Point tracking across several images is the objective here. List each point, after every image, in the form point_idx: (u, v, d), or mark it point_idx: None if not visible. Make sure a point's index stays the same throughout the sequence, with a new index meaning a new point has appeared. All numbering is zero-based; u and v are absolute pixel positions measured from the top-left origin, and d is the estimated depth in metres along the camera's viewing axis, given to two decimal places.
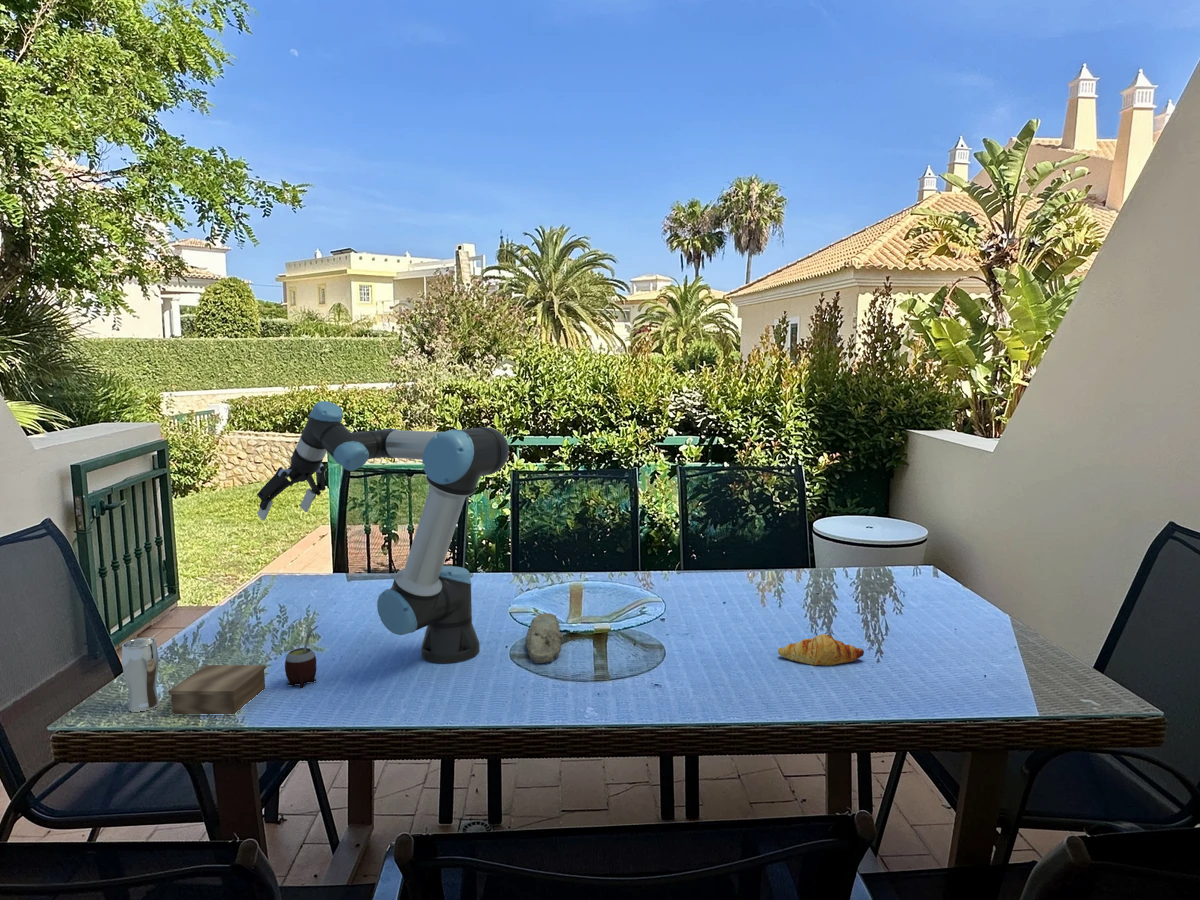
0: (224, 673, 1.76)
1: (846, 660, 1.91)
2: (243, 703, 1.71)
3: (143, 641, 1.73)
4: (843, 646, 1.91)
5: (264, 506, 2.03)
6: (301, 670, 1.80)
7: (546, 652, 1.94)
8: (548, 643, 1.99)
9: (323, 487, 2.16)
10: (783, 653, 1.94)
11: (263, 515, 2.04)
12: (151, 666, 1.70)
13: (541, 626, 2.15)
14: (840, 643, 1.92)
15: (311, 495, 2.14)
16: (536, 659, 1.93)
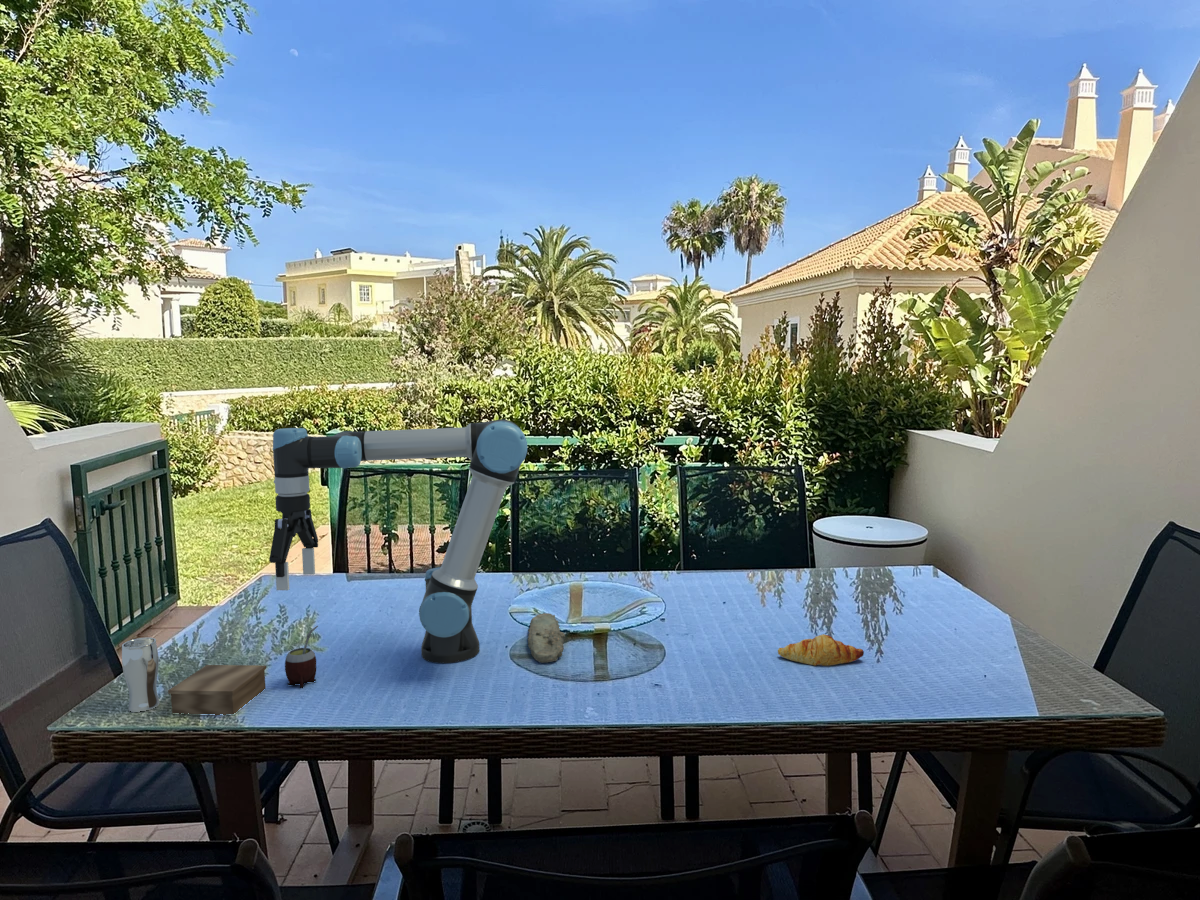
0: (225, 673, 1.76)
1: (846, 661, 1.90)
2: (242, 703, 1.71)
3: (143, 641, 1.73)
4: (843, 646, 1.91)
5: (282, 571, 1.73)
6: (301, 670, 1.80)
7: (550, 652, 1.94)
8: (551, 643, 1.99)
9: (316, 537, 1.90)
10: (783, 653, 1.94)
11: (285, 584, 1.75)
12: (151, 666, 1.70)
13: (541, 626, 2.15)
14: (840, 643, 1.92)
15: (310, 551, 1.88)
16: (540, 659, 1.93)
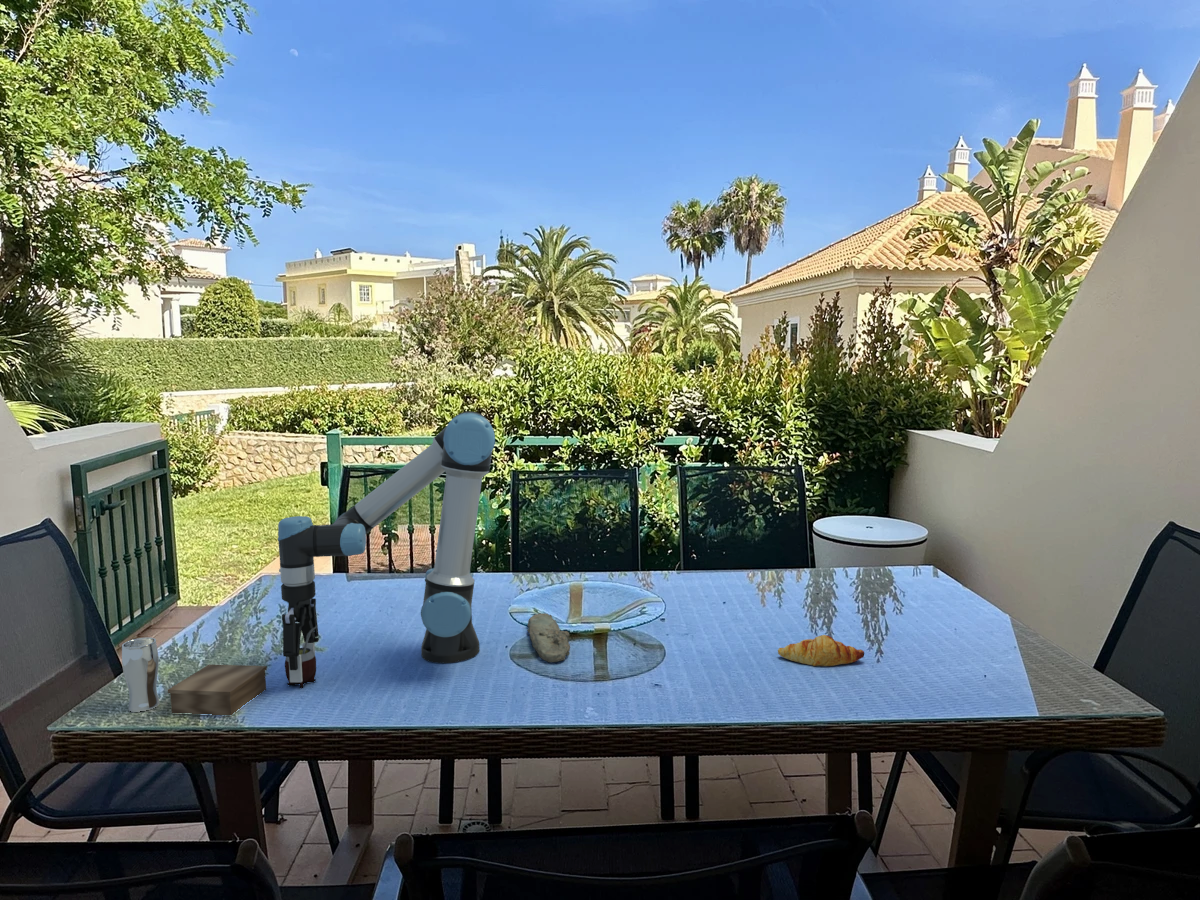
0: (225, 673, 1.76)
1: (846, 661, 1.90)
2: (241, 704, 1.70)
3: (143, 641, 1.73)
4: (843, 647, 1.90)
5: (296, 664, 1.78)
6: None
7: (558, 651, 1.95)
8: (557, 642, 1.99)
9: (317, 630, 1.89)
10: (783, 653, 1.94)
11: (299, 676, 1.79)
12: (151, 666, 1.70)
13: (541, 626, 2.15)
14: (840, 644, 1.91)
15: (311, 646, 1.86)
16: (549, 659, 1.93)
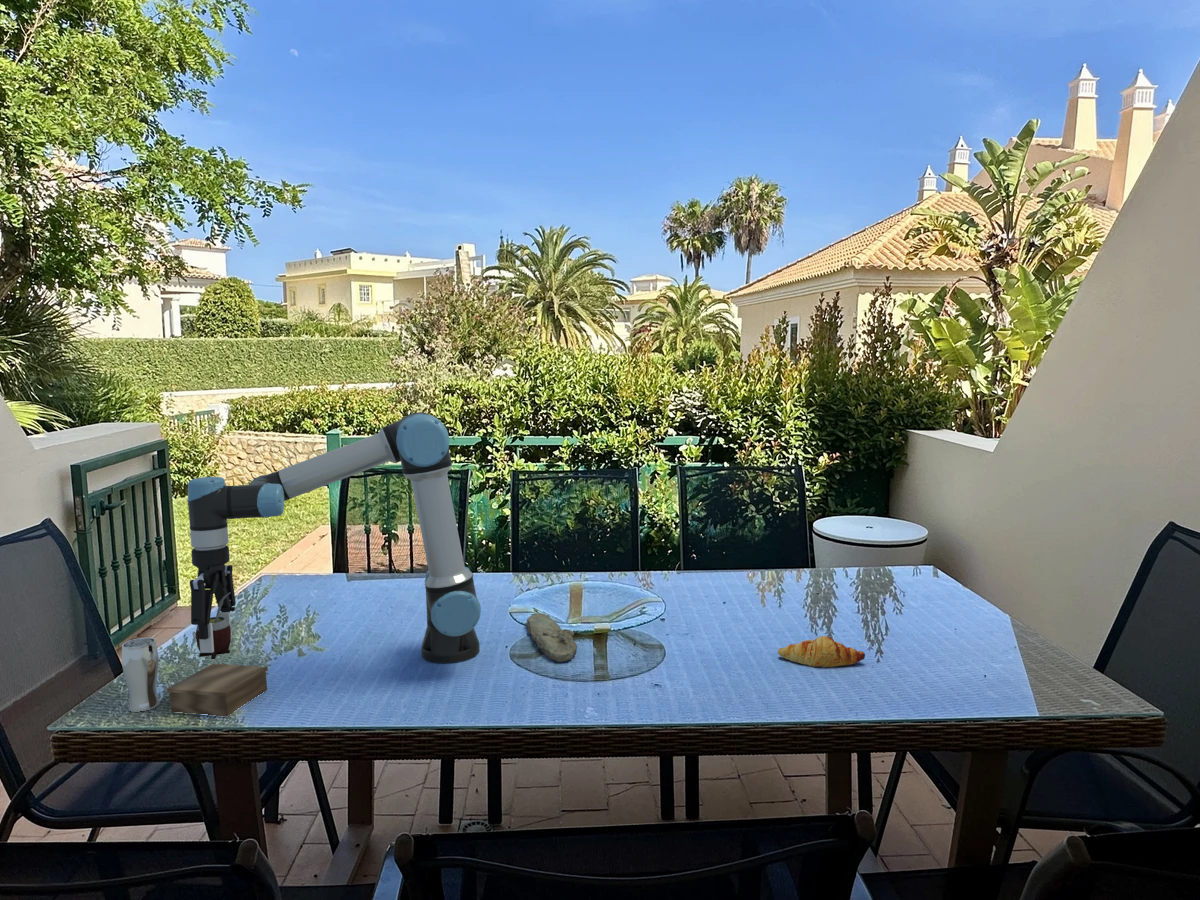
0: (226, 673, 1.76)
1: (846, 663, 1.89)
2: (238, 705, 1.70)
3: (143, 641, 1.73)
4: (843, 648, 1.89)
5: (206, 633, 1.68)
6: None
7: (566, 650, 1.95)
8: (563, 642, 2.00)
9: (233, 599, 1.78)
10: (782, 653, 1.94)
11: (209, 646, 1.69)
12: (151, 666, 1.70)
13: (542, 626, 2.15)
14: (840, 645, 1.90)
15: (226, 615, 1.76)
16: (558, 658, 1.94)
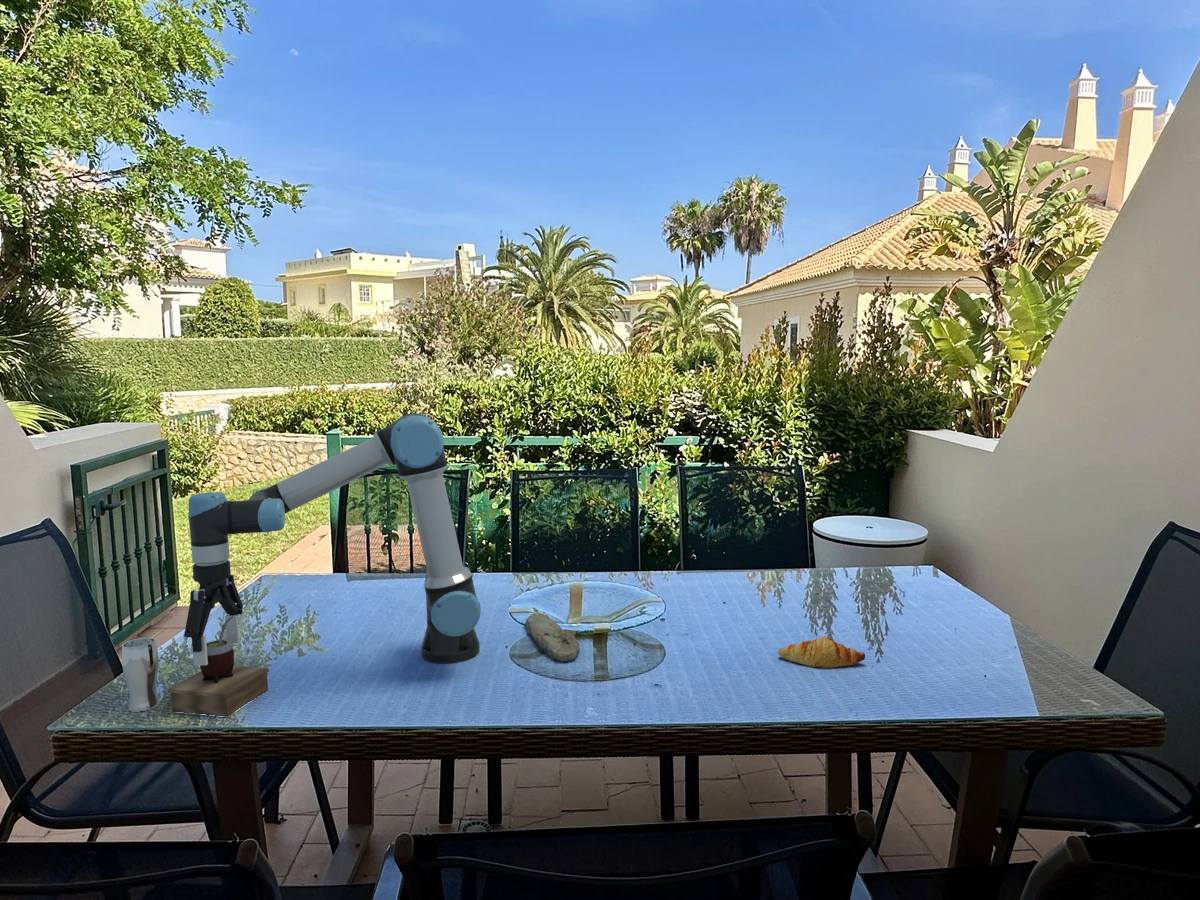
0: None
1: (846, 663, 1.88)
2: (239, 706, 1.70)
3: (143, 641, 1.73)
4: (843, 649, 1.89)
5: (199, 645, 1.65)
6: (215, 664, 1.70)
7: (570, 650, 1.96)
8: (566, 641, 2.00)
9: (240, 603, 1.81)
10: (782, 653, 1.94)
11: (203, 658, 1.66)
12: (151, 666, 1.70)
13: (542, 626, 2.15)
14: (840, 646, 1.90)
15: (234, 618, 1.79)
16: (562, 658, 1.94)
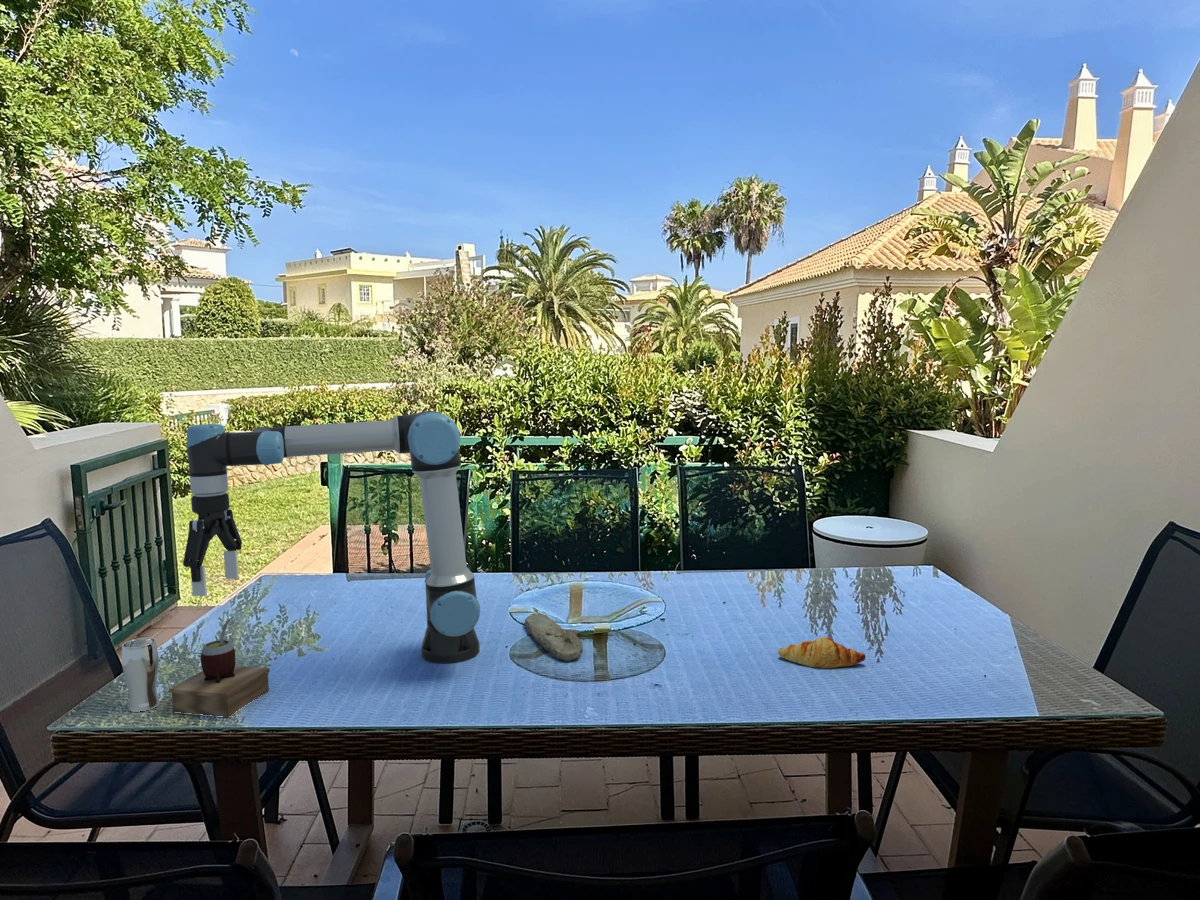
0: None
1: (846, 664, 1.88)
2: (240, 706, 1.69)
3: (143, 641, 1.73)
4: (843, 649, 1.89)
5: (198, 575, 1.64)
6: (216, 664, 1.70)
7: (574, 649, 1.96)
8: (569, 641, 2.00)
9: (239, 539, 1.80)
10: (782, 654, 1.94)
11: (202, 589, 1.65)
12: (151, 666, 1.70)
13: (542, 626, 2.15)
14: (840, 646, 1.90)
15: (233, 554, 1.78)
16: (566, 657, 1.94)
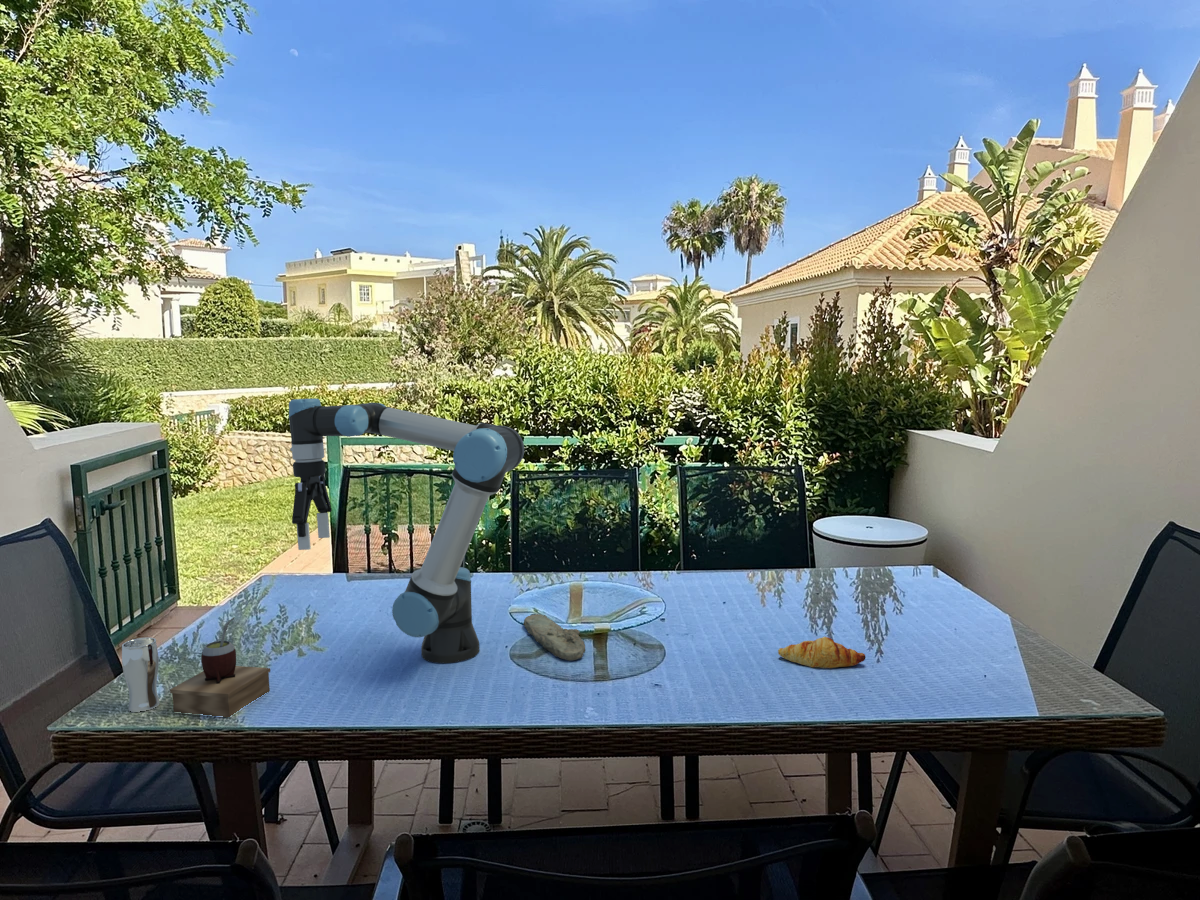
0: None
1: (846, 664, 1.88)
2: (241, 706, 1.69)
3: (143, 641, 1.73)
4: (843, 650, 1.89)
5: (304, 531, 1.85)
6: (216, 664, 1.70)
7: (577, 649, 1.96)
8: (571, 640, 2.01)
9: (329, 503, 2.02)
10: (782, 654, 1.94)
11: (307, 543, 1.86)
12: (151, 666, 1.70)
13: (542, 627, 2.15)
14: (840, 646, 1.90)
15: (325, 515, 1.99)
16: (569, 657, 1.94)
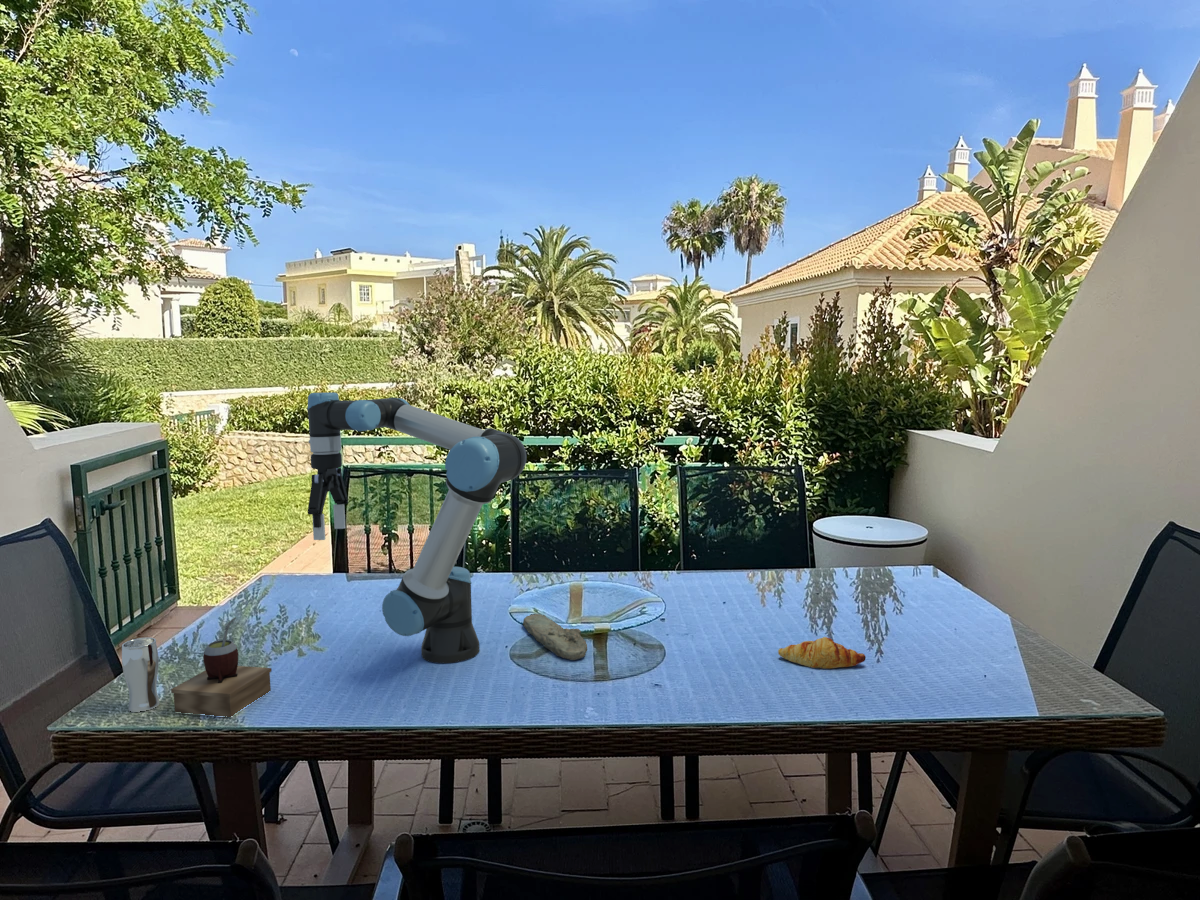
0: None
1: (845, 665, 1.88)
2: (242, 706, 1.69)
3: (143, 641, 1.73)
4: (843, 650, 1.88)
5: (319, 522, 1.90)
6: (218, 664, 1.70)
7: (579, 648, 1.97)
8: (573, 640, 2.01)
9: (345, 495, 2.06)
10: (782, 654, 1.94)
11: (322, 534, 1.91)
12: (151, 666, 1.70)
13: (542, 626, 2.15)
14: (840, 647, 1.89)
15: (341, 507, 2.04)
16: (572, 656, 1.95)
